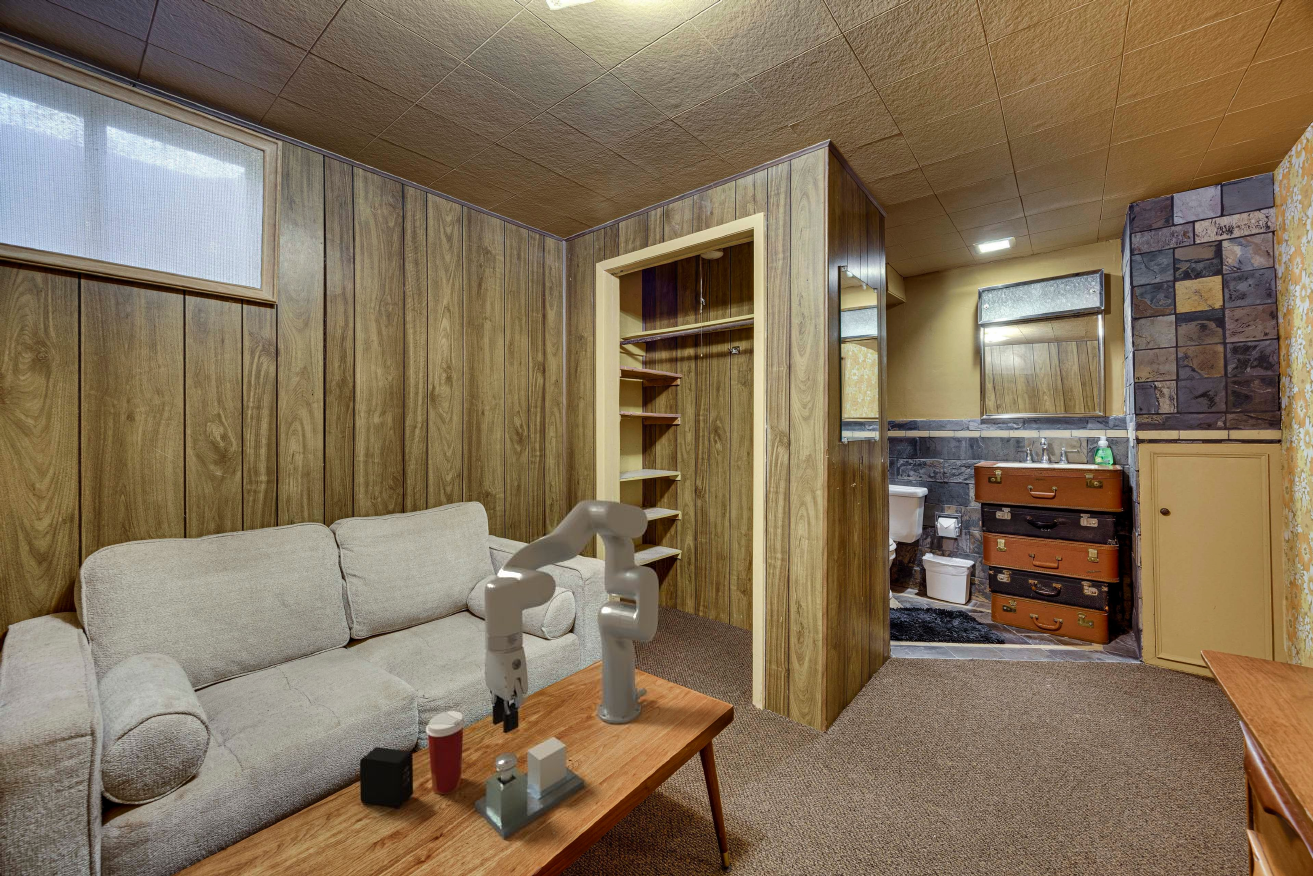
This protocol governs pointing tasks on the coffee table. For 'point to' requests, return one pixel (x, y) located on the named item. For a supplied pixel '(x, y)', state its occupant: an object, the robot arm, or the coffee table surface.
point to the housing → (546, 763)
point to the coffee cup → (445, 750)
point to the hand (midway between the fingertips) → (505, 725)
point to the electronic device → (386, 777)
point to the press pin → (506, 766)
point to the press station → (522, 800)
